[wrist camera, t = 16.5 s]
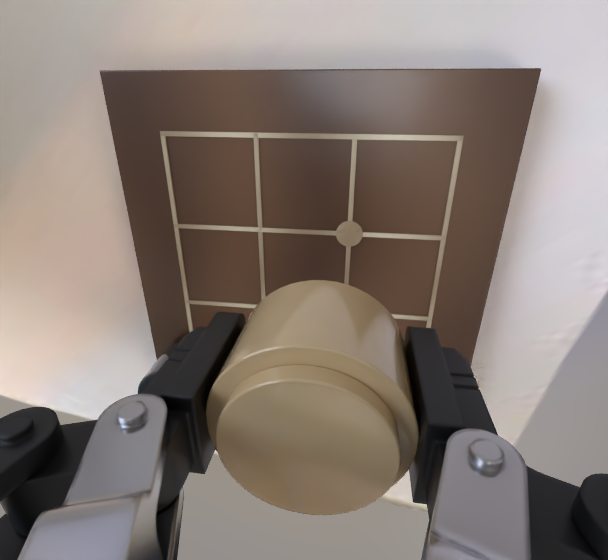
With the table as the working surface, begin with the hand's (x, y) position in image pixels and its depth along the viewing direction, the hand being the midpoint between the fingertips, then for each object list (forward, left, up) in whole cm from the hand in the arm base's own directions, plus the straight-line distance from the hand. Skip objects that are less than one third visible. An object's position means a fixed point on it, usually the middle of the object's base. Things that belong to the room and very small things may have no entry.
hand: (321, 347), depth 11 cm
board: (-2, -2, -12) cm, 12 cm away
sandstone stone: (0, 0, 0) cm, 0 cm away
